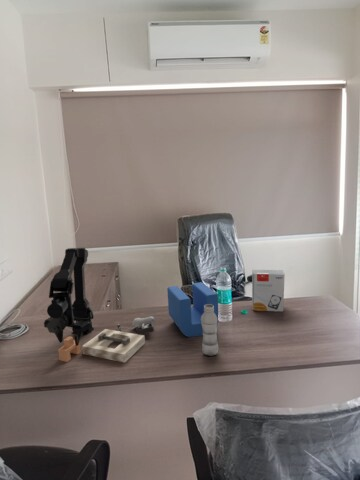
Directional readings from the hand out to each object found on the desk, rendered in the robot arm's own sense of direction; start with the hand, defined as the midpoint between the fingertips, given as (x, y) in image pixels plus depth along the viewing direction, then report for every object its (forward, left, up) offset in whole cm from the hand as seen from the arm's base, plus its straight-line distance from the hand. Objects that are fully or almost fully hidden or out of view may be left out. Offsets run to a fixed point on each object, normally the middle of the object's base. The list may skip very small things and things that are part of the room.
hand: (69, 343), depth 135 cm
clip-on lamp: (+14, +27, -6) cm, 31 cm away
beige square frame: (+14, +11, -5) cm, 19 cm away
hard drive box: (+67, +71, -6) cm, 98 cm away
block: (+38, +40, -6) cm, 55 cm away
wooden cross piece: (0, 0, -5) cm, 5 cm away
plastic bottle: (+53, +20, -6) cm, 57 cm away
